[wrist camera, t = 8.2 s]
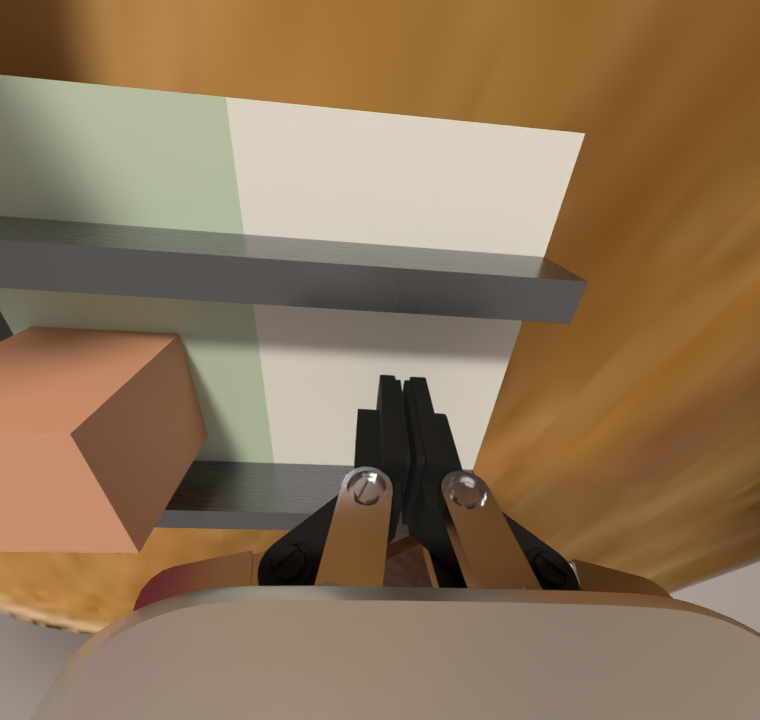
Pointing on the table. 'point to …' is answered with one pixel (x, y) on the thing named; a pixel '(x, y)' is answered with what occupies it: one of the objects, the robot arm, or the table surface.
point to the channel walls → (284, 288)
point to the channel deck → (291, 220)
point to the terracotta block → (92, 437)
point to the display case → (405, 563)
